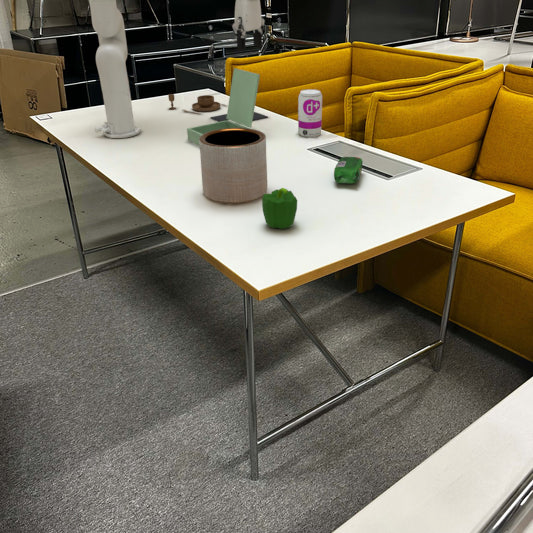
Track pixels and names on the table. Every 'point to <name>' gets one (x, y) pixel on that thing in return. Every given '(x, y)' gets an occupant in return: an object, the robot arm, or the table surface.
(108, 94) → the robot arm
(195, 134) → the lunchbox
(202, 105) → the place setting
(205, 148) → the planter
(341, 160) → the snack package
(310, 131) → the supplement can
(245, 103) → the lid
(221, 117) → the mat
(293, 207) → the bell pepper
